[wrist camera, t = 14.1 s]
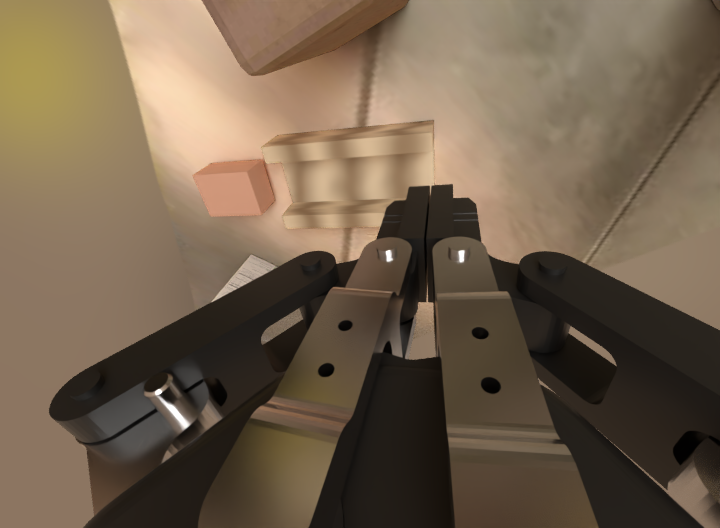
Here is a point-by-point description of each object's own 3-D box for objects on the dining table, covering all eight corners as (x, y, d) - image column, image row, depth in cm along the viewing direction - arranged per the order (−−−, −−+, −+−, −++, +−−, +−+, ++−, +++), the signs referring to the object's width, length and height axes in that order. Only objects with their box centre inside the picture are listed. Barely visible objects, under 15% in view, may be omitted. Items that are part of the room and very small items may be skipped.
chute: (433, 120, 39) (431, 132, 35) (434, 207, 45) (433, 225, 42) (277, 135, 44) (260, 147, 40) (298, 211, 50) (285, 228, 47)
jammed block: (262, 159, 45) (246, 171, 42) (274, 200, 49) (261, 214, 45) (211, 163, 47) (192, 175, 44) (226, 202, 51) (210, 216, 47)
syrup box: (273, 288, 62) (234, 351, 50) (243, 274, 61) (197, 334, 50) (281, 267, 58) (241, 329, 47) (249, 252, 57) (201, 312, 46)
